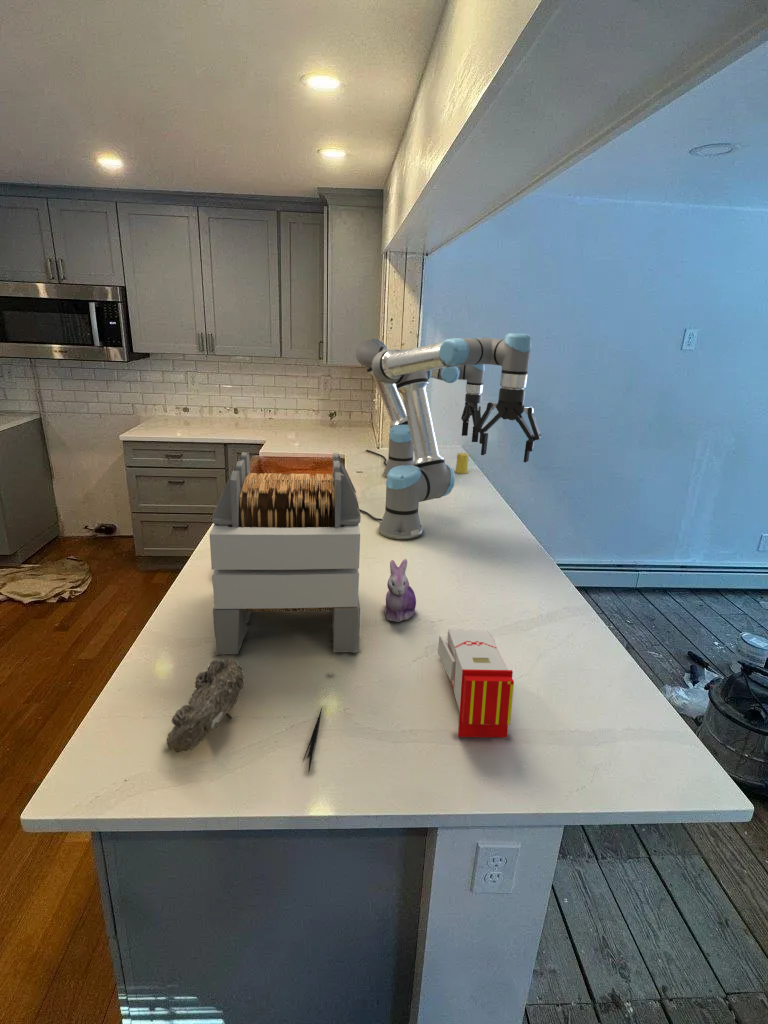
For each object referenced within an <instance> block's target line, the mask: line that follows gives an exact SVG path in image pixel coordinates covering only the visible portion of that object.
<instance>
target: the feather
mask: <svg viewBox="0 0 768 1024" xmlns="http://www.w3.org/2000/svg"><path fill="white" fill-rule="evenodd" d="M329 675H330V676H331V675H332V674H331V673H330V674H329ZM322 710H323V707H321V708H320V710H319V713H318V716H317V719H316V723H315V725H314V728H313V731H312V733H311V737H310V739H309V742H308V745H307V748H306V751H305V754H304V757H303V760H302V763H301V767H302V765H303V763H304V761H305V758H308V759H309V760H308V762H307V763H308V764H307V766H308V771H310V770H311V766H312V765H311V764H312V760H313V757H315V756H314V755H315V751H316V749H315V746H317V739H318V733H319V729H320V722H321V717H322V712H323V711H322ZM313 754H314V755H313ZM306 755H307V757H306Z"/></svg>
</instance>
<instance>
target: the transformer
mask: <svg viewBox="0 0 768 1024" xmlns="http://www.w3.org/2000/svg"><path fill="white" fill-rule="evenodd" d="M250 461H251V459H250V452H249V451H248V452H244V451H241V453H240V456H239V457H238V459H237V461H236V464H235V465H234V468H233V469H232V471H231V473H230V475H229V477H228V479H227V482H226V484H225V486H224V487H223V490H222V492H221V495H220V497H219V499H218V501H217V504H216V506H215V508H214V511H213V512H212V515H211V519H212V520H211V521H212V524H213V526H212V528H211V530H210V532H209V547H210V549H209V550H210V563H211V565H210V566H211V570H213V572H212V576H211V577H212V580H211V581H212V594H213V608H212V619H213V633H214V640H215V651H214V653H215V656H217V655H218V656H222V655H239V651H240V649H241V646H242V643H243V642H244V639H245V636H246V634H247V630H248V629H247V628H248V627H247V623H248V622H249V621H250V617H251V613H253V612H255V613H256V612H258V613H261V612H262V613H264V612H266V613H267V612H307V611H308V612H312V611H313V612H317V611H319V612H321V611H323V612H326V611H331V619H332V644H333V653H353V654H356V652H358V651H359V650H360V629H361V628H360V625H361V605H360V596H359V587H360V586H359V585H360V571H359V569H360V554H361V551H360V549H361V532H360V531H361V530H360V525H359V524H360V523H361V518H362V516H361V511H359V509H360V507H359V505H360V504H359V500H358V497H357V490H356V489H355V487H354V484H353V482H352V480H351V477H350V476H349V473H348V470H347V469H346V466H345V465H344V462H343V460H342V458H341V456H340V453H337V452H332V473H326V474H324V473H316V474H311V473H288V474H287V473H286V474H285V473H281V472H280V473H277V472H275V473H273V472H272V473H271V472H270V473H267V472H264V473H263V472H260V473H257V472H251V464H250V463H251V462H250Z"/></svg>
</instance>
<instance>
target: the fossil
mask: <svg viewBox="0 0 768 1024" xmlns="http://www.w3.org/2000/svg"><path fill="white" fill-rule="evenodd" d="M243 670H244V669H243V667H242V665H240V664H237V662H236V661H235V660H234V659H232V658H231V659H227V658H226V659H224V660H223V661H222V660H217V659H212V660H211V661H210V663H209V665H208V666H207V671H201V672H199V673H198V674H197V675H196V676H195V680H194V684H195V685H194V687H195V689H194V690H193V693H192V694H191V697H190V698H189V700H188V704H184V705H182V706H181V707H180V709H177V710H176V711H175V713H174V715H173V716H172V718H171V723H172V724H173V727H172V730H171V731H170V732H168V734H167V738H166V741H167V742H166V745H167V749H168V750H169V751H173V752H174V753H176V754H178V753H182V752H188V751H189V752H192V751H193V750H195V748H196V747H197V746H199V744H200V743H201V742H203V741H204V740H205V739H206V738H207V737H208V736H209V735H210V734H211V733H212V732H214V730H215V729H217V727H218V726H219V724H220V722H221V721H222V720H223V719H224V718H225V716H226V717H227V719H229V720H233V717H232V715H230V714H229V710H230V709H231V708H234V706H235V704H236V703H237V702H238V699H239V697H240V695H241V693H242V691H243V690H245V689H244V688H245V675H244V671H243Z"/></svg>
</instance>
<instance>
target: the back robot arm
mask: <svg viewBox="0 0 768 1024" xmlns="http://www.w3.org/2000/svg"><path fill="white" fill-rule="evenodd" d="M383 350H388V348H387V345H386V344H385V343H384V342H383V341H381V340H379V339H376V338H373V339H368V340H365V341H364V340H363V341H362V342H360V343H359V344H358V345H357V347H356V350H355V358H356V360H357V362H358V363H359V364H360V365H361V366H363V367H365V369H366V371H367V373H368V374H369V375H370V376H372V378H373V380H374V382H375V385H376V388H377V389H378V392H379V394H380V398H381V399H382V402H383V404H384V407H385V409H386V412H387V414H388V417H389V419H390V425H389V427H390V429H389V433H388V455H387V456H388V459H387V458H386V456H384V455H382V454H381V453H378V452H375V451H372V450H368V449H366V450H365V452H367V453H370V454H374V455H376V456H379V457H381V458H382V459H383V465H384V466H385V468H384V469H383V476H384V477H385V478H386V479H387V474H388V472H389V470H391V469H392V468H394V467H397V466H401V465H404V466H406V465H413V463H414V449H413V444H412V439H411V434H410V430H409V425H408V420H407V415H406V410H405V405H404V401H403V398H402V397H401V393H400V392H398V391H397V387H396V384H387V383H383V382H381V381H379V380H378V379H377V378H376V377H375V376H374V374H373V371H372V361H373V359H374V357H375V356H376V355H377V354H378V353H379V352H381V351H383ZM485 367H486V364H480V365H460V366H453V367H446V368H440V369H434V370H432V372H431V374H432V375H431V377H430V379H435V380H439V381H443V382H444V383H447V384H453V383H455V382H457V380H461V381H466V384H465V397H464V407H463V410H462V414H461V418H460V419H461V421H462V427H461V436H462V437H468V435H469V434H468V432H469V425H470V418H471V419H472V423H473V426H472V434H471V435H472V436H471V443H478V442H479V436H480V433H479V432H478V431H475V427H476V425H477V424H478V422H479V420H480V419H481V417H482V414H481V411H482V408H481V406H480V405H479V404H480V403H482V398H483V395H482V394H483V389H484V379H485V371H486V370H485Z"/></svg>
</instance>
